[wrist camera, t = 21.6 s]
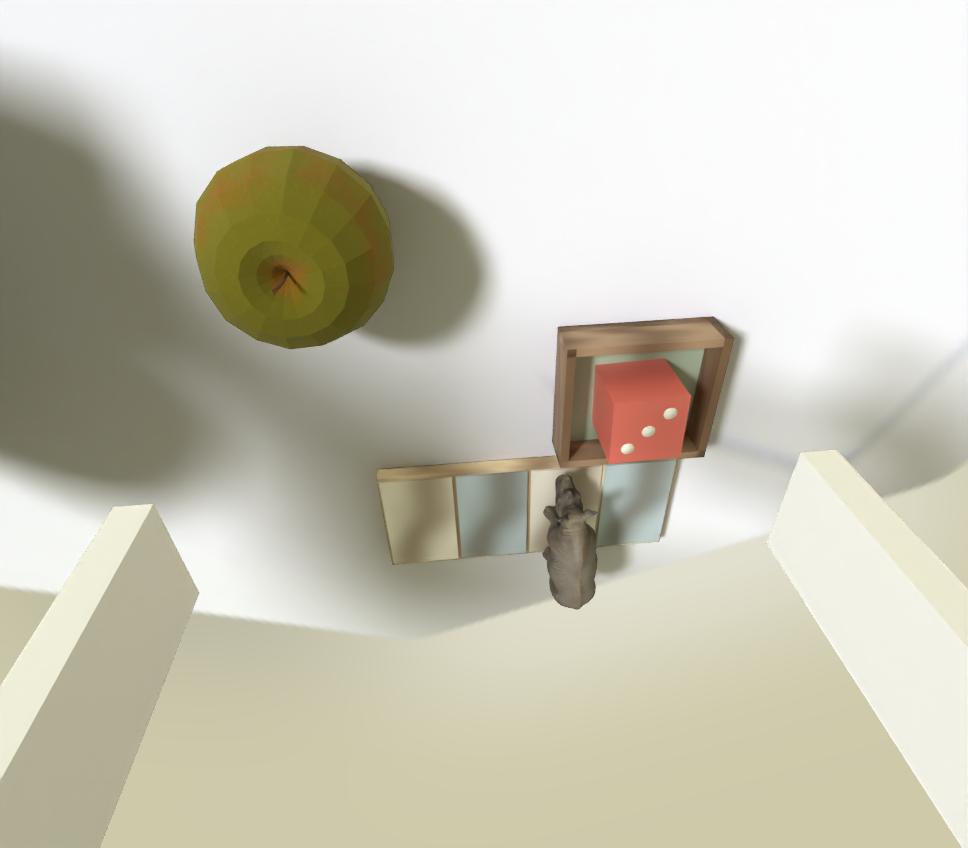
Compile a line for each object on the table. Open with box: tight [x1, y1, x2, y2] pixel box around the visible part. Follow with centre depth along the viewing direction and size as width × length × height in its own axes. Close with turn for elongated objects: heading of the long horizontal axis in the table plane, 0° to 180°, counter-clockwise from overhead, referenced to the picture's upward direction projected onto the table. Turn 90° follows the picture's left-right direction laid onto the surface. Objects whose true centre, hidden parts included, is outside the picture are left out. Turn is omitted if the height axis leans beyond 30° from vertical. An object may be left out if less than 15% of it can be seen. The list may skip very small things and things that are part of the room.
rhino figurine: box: [543, 474, 597, 609], centre depth 46 cm, size 4×14×6 cm, turn 5°
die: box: [592, 358, 691, 464], centre depth 40 cm, size 5×5×5 cm
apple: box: [194, 146, 394, 349], centre depth 29 cm, size 10×10×11 cm
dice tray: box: [552, 317, 734, 468], centre depth 41 cm, size 11×10×3 cm
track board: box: [377, 456, 677, 565], centre depth 48 cm, size 24×10×1 cm, turn 92°
